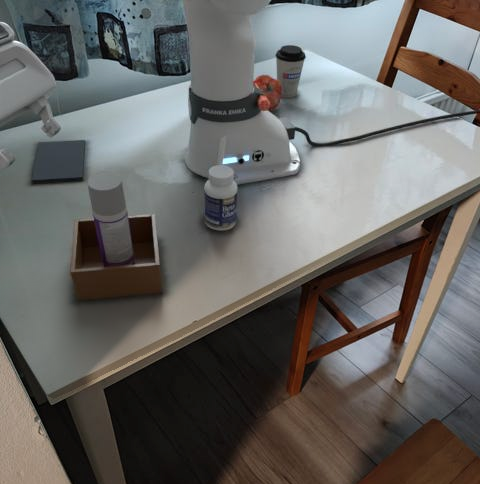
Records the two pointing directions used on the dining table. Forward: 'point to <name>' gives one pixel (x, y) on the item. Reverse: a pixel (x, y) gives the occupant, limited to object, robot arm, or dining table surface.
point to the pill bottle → (220, 198)
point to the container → (111, 219)
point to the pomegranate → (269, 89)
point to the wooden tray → (116, 277)
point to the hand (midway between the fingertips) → (34, 148)
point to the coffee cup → (289, 69)
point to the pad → (59, 161)
